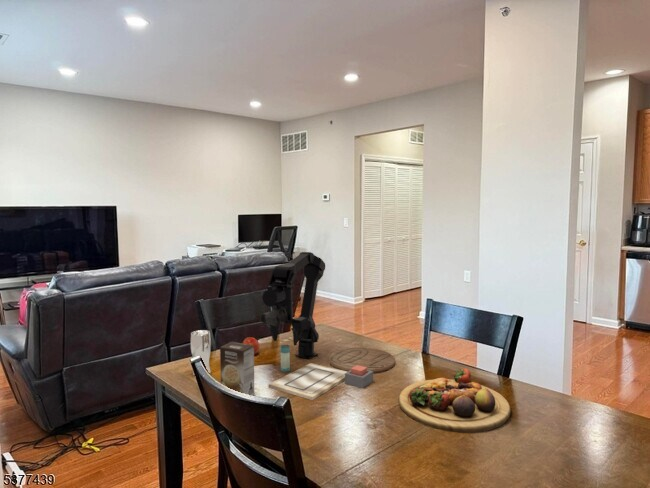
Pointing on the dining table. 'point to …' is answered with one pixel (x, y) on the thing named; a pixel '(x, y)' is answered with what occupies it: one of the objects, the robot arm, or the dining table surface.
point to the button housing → (359, 379)
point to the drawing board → (309, 381)
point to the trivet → (362, 359)
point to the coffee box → (237, 367)
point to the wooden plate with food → (455, 404)
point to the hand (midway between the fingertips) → (285, 343)
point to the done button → (359, 370)
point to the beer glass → (201, 346)
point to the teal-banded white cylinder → (285, 358)
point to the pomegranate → (252, 343)
